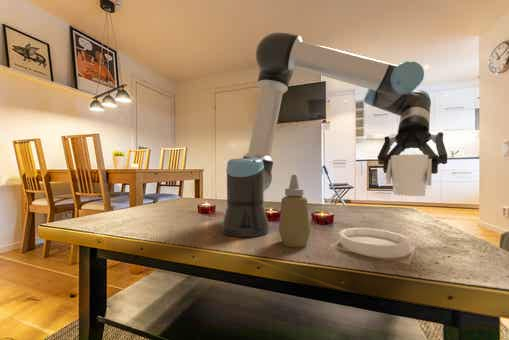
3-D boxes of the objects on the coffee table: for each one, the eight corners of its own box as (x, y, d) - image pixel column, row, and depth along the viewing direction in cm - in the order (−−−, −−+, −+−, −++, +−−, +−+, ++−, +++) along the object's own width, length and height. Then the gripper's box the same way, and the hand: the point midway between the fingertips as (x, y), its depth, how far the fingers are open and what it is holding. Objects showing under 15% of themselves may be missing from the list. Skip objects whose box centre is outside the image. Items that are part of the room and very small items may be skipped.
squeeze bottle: (316, 244, 57) (315, 174, 57) (301, 253, 51) (300, 175, 51) (288, 238, 62) (288, 174, 63) (272, 245, 56) (272, 175, 56)
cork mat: (329, 248, 54) (329, 246, 54) (348, 235, 64) (348, 234, 64) (409, 266, 43) (409, 264, 43) (415, 247, 54) (415, 246, 54)
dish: (330, 247, 53) (330, 237, 53) (350, 234, 65) (350, 225, 65) (406, 264, 43) (405, 251, 43) (413, 245, 55) (413, 234, 55)
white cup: (435, 197, 51) (436, 154, 51) (398, 196, 53) (398, 154, 53) (417, 193, 59) (418, 156, 59) (385, 192, 61) (385, 156, 61)
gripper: (459, 132, 62) (463, 194, 50) (377, 138, 75) (364, 188, 63) (460, 109, 58) (466, 170, 46) (373, 120, 71) (359, 170, 59)
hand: (407, 181), depth 54 cm, fingers closed on white cup, 8 cm apart
